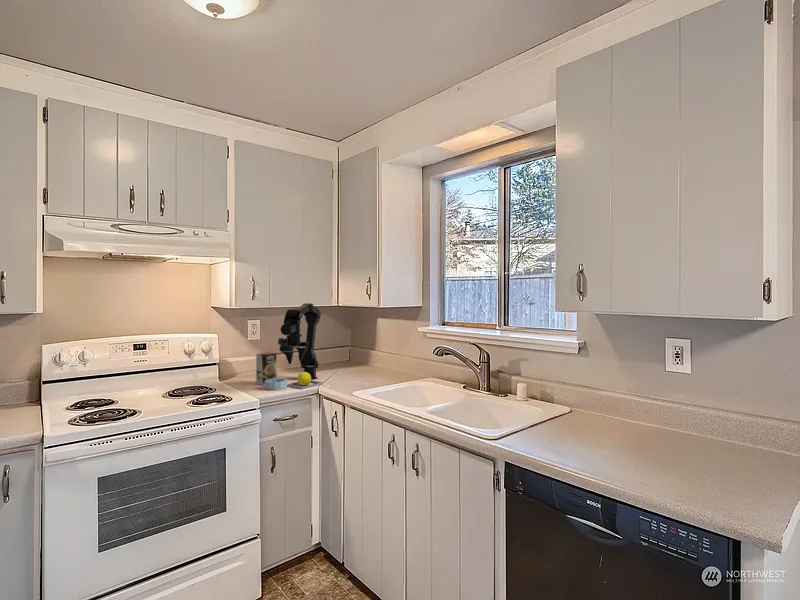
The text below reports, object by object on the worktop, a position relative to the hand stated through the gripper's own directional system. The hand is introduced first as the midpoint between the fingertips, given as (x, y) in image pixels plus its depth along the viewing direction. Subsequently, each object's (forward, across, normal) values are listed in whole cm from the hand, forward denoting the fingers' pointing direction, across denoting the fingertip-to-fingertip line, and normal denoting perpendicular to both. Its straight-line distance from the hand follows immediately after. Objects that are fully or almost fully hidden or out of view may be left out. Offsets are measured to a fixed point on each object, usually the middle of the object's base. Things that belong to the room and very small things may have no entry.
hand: (295, 362), depth 243 cm
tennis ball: (+12, -2, +4) cm, 13 cm away
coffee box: (+13, 0, -18) cm, 22 cm away
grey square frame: (+12, -2, +4) cm, 13 cm away
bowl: (+12, +8, -6) cm, 16 cm away
